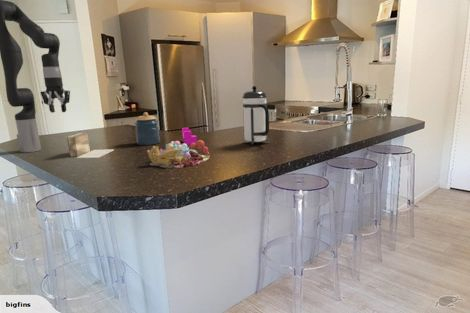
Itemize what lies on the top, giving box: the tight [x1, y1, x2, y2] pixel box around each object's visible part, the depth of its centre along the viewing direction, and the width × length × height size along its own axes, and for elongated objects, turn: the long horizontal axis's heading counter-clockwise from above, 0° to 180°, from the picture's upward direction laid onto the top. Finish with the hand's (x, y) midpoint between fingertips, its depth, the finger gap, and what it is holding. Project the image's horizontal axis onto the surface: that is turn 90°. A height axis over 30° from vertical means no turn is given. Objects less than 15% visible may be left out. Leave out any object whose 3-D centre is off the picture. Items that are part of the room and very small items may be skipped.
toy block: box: [181, 127, 198, 146], centre depth 187 cm, size 15×6×8 cm, turn 14°
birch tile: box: [66, 132, 91, 158], centre depth 167 cm, size 4×12×10 cm, turn 176°
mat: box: [76, 148, 115, 159], centre depth 167 cm, size 11×18×1 cm, turn 176°
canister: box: [134, 111, 161, 146], centre depth 188 cm, size 13×13×18 cm
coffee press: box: [241, 85, 270, 146], centre depth 175 cm, size 17×16×30 cm
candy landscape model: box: [147, 139, 211, 169], centre depth 145 cm, size 25×24×9 cm
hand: (58, 112), depth 164 cm, fingers open, 5 cm apart
